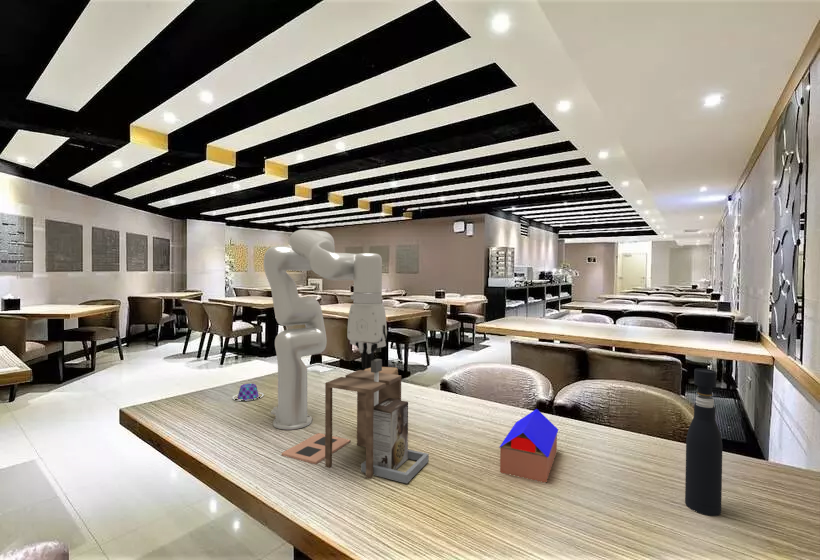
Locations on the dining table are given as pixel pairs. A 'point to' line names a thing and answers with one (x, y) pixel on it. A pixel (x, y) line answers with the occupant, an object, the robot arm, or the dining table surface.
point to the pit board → (314, 448)
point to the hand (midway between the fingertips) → (367, 367)
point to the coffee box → (390, 433)
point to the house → (529, 448)
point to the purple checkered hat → (248, 392)
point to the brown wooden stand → (360, 408)
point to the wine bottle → (704, 450)
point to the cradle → (415, 455)
